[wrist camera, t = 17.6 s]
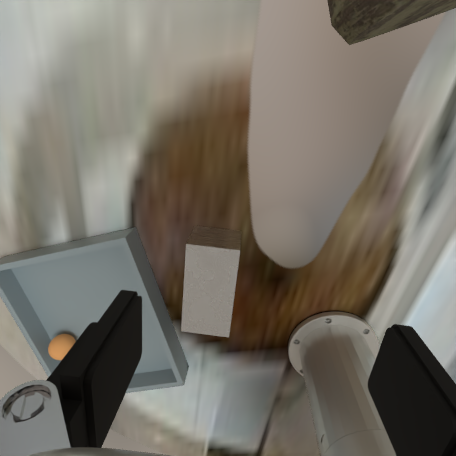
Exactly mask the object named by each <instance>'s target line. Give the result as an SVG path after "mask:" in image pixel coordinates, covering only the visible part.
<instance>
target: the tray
mask: <svg viewBox="0 0 456 456" xmlns="http://www.w3.org/2000/svg"><path fill="white" fill-rule="evenodd" d="M121 290H129V291H136V292H137V293H138V296H142V355H141V359H140V362H139V364H138V366H137V368H136V371H135V373H134V375H133V377H132V380H131V382H130V384H129V386H128V389H127V391H126V393H130V392H138V391H145V390H153V389H160V388H168V387H175V386H183V385H184V383H185V379H186V375H187V371H188V367H189V366H188V364H187V361H186V358H185V356H184V353H183V350H182V348H181V345H180V343H179V340H178V337H177V335H176V332H175V329H174V327H173V324H172V322H171V319H170V316H169V314H168V311H167V308H166V306H165V303H164V300H163V298H162V295H161V293H160V290H159V287H158V285H157V282H156V279H155V277H154V274H153V272H152V269H151V266H150V264H149V261H148V258H147V256H146V253H145V251H144V248H143V245H142V243H141V240H140V237H139V235H138V232H137V230H136V227H134V228H130V229H125V230H121V231H116V232H112V233H107V234H103V235H98V236H94V237H89V238H85V239H80V240H76V241H71V242H67V243H62V244H58V245H53V246H49V247H44V248H40V249H35V250H31V251H26V252H22V253H17V254H13V255H8V256H4V257H2V258H1V259H0V297H1V298H2V300H3V302H4V303H5V305H6V307H7V308H8V310H9V312H10V313H11V315H12V317H13V318H14V320H15V322H16V323H17V325H18V327H19V328H20V330H21V332H22V334H23V335H24V337H25V339H26V340H27V342H28V344H29V345H30V347H31V349H32V350H33V352H34V354H35V355H36V357H37V359H38V360H39V362H40V364H41V365H42V367H43V369H44V370H45V372H46V374H47V375H48V377H49V376H50V375H51V374H52V372H53V371H54V370H55V368H56V367H57V366H58V364H59V363H60V362H61V361H62V360H55V359H53V358H52V357H51V356H50V355H49V352H48V347H49V344H50V342H51V340H52V339H53V338H54V337H56V336H58V335H60V334H69V335H71V336H73V337H74V339H75V341H77V340H78V338H79V337H80V336H81V334H82V333H83V332H84V330H85V329H86V328H87V326H88V325H89V324H90V323H92V322H98V321H99V320H100V318H101V317H102V315H103V314H104V313H105V311H106V310H107V309H108V307H109V306H110V304H111V303H112V302H113V300H114V299H115V298H116V296H117V295H118V293H119V292H120V291H121Z"/></svg>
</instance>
